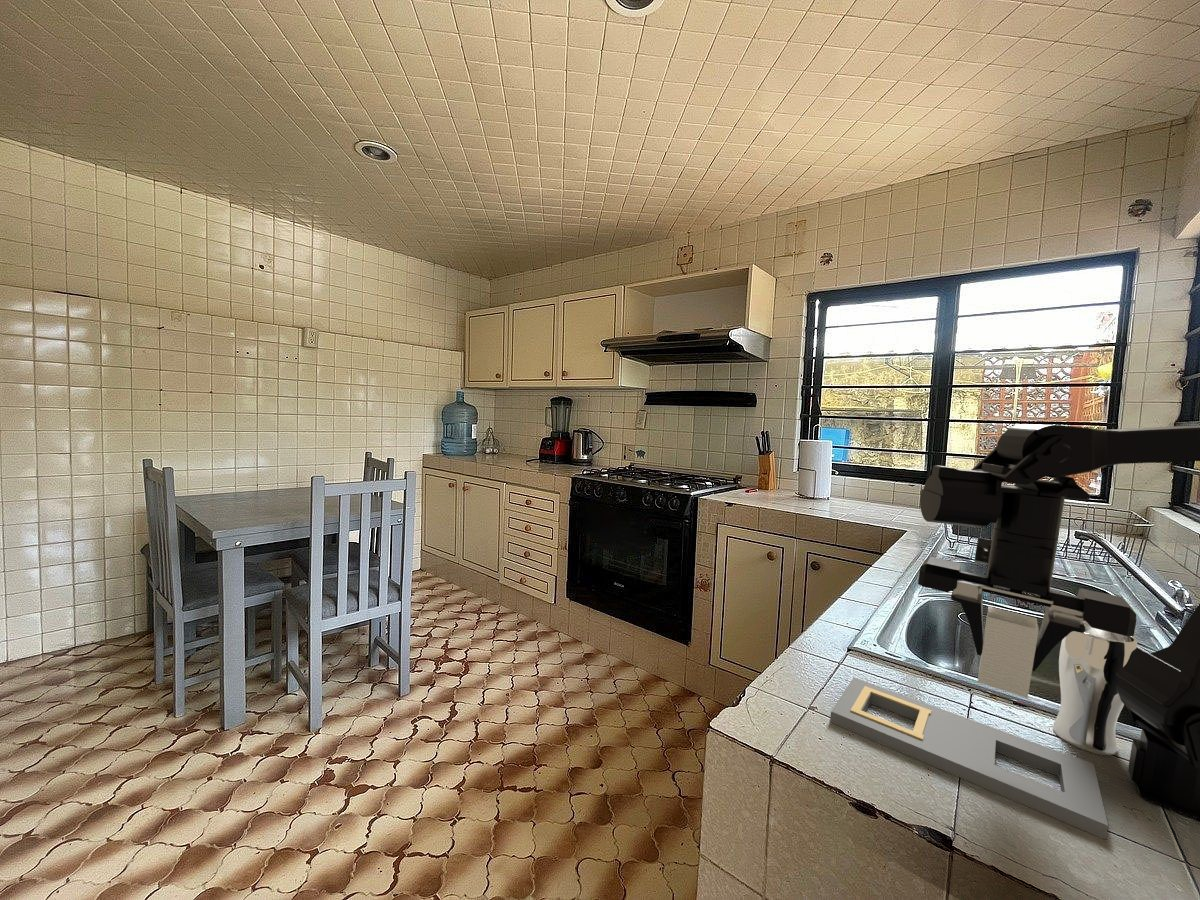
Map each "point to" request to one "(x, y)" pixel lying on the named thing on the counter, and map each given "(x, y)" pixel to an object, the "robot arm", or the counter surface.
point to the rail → (976, 754)
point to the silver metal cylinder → (1091, 688)
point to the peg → (1008, 651)
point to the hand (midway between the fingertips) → (1004, 661)
